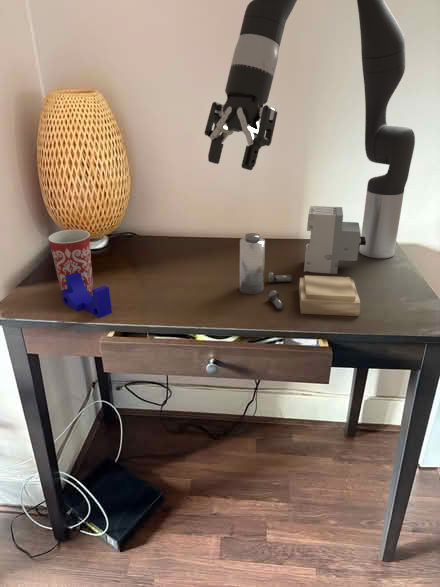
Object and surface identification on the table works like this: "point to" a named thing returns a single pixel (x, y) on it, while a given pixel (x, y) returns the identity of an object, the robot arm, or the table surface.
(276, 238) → the table surface
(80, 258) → the mug
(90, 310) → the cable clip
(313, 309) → the stand
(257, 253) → the silver metal bottle
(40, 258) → the table surface
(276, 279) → the bolt
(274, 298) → the bolt
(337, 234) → the circuit breaker
